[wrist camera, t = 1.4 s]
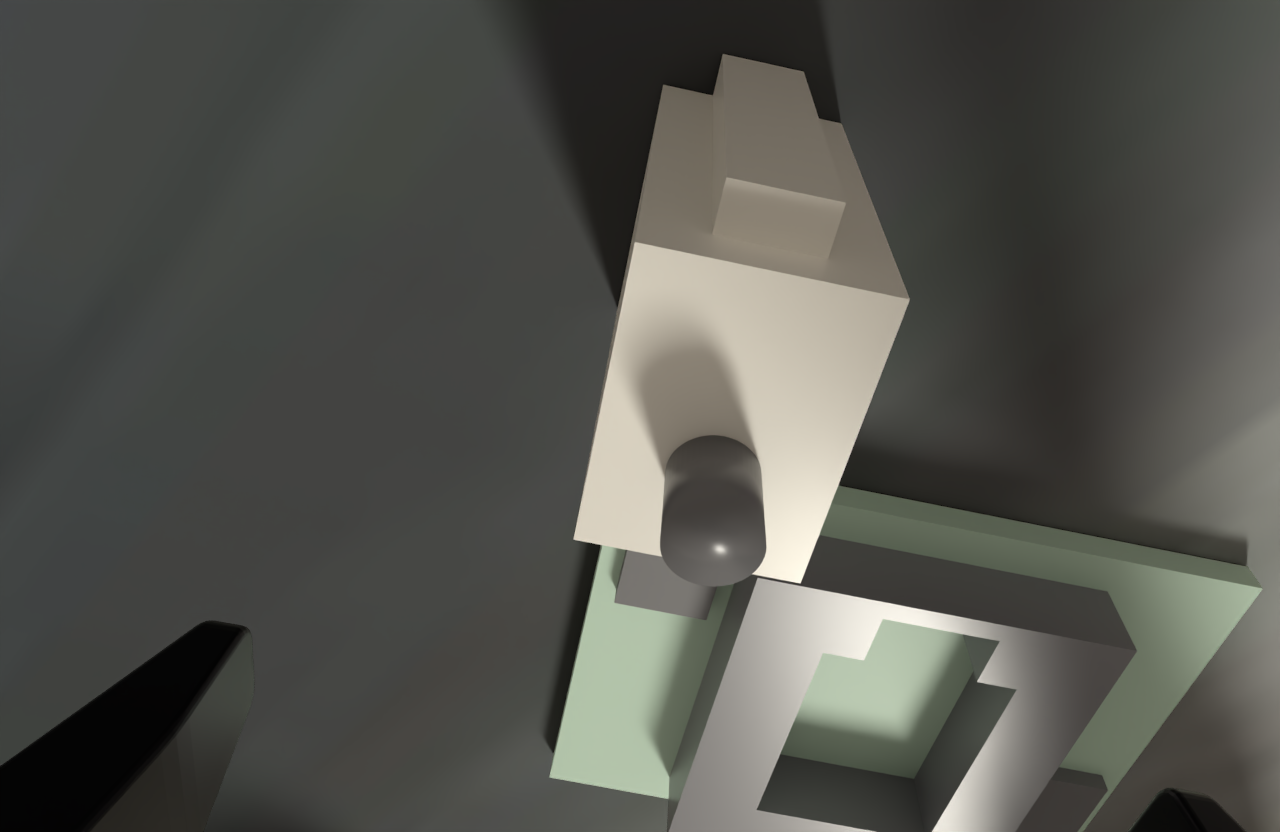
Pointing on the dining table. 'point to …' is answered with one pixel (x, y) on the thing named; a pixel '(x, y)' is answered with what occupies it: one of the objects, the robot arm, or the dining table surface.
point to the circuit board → (892, 656)
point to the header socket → (846, 626)
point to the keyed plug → (740, 334)
